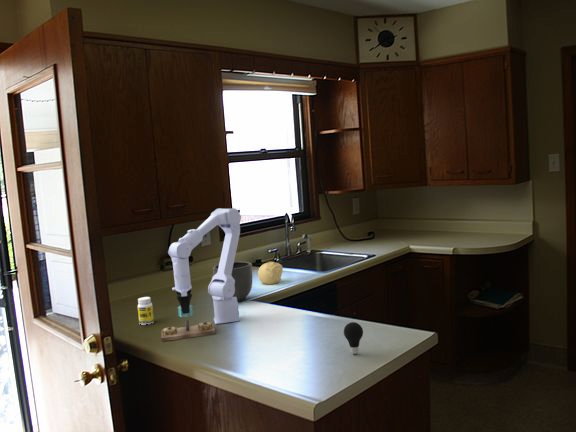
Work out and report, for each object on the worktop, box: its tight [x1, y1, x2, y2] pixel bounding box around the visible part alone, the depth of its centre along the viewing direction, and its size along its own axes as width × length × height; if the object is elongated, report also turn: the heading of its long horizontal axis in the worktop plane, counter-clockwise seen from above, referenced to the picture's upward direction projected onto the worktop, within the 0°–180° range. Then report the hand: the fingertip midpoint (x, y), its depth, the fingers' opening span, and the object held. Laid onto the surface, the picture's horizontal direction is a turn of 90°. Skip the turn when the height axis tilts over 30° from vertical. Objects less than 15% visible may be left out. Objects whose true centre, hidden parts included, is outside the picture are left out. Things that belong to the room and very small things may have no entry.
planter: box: [212, 260, 253, 303], centre depth 244 cm, size 17×17×16 cm
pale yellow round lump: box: [257, 261, 284, 285], centre depth 273 cm, size 12×12×11 cm
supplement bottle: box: [137, 296, 155, 326], centre depth 220 cm, size 6×6×10 cm
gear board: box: [160, 320, 216, 342], centre depth 202 cm, size 19×10×5 cm, turn 103°
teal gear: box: [177, 304, 194, 318], centre depth 201 cm, size 5×5×3 cm
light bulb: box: [343, 321, 364, 355], centre depth 167 cm, size 6×6×10 cm
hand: (185, 311), depth 201 cm, fingers closed on teal gear, 5 cm apart
